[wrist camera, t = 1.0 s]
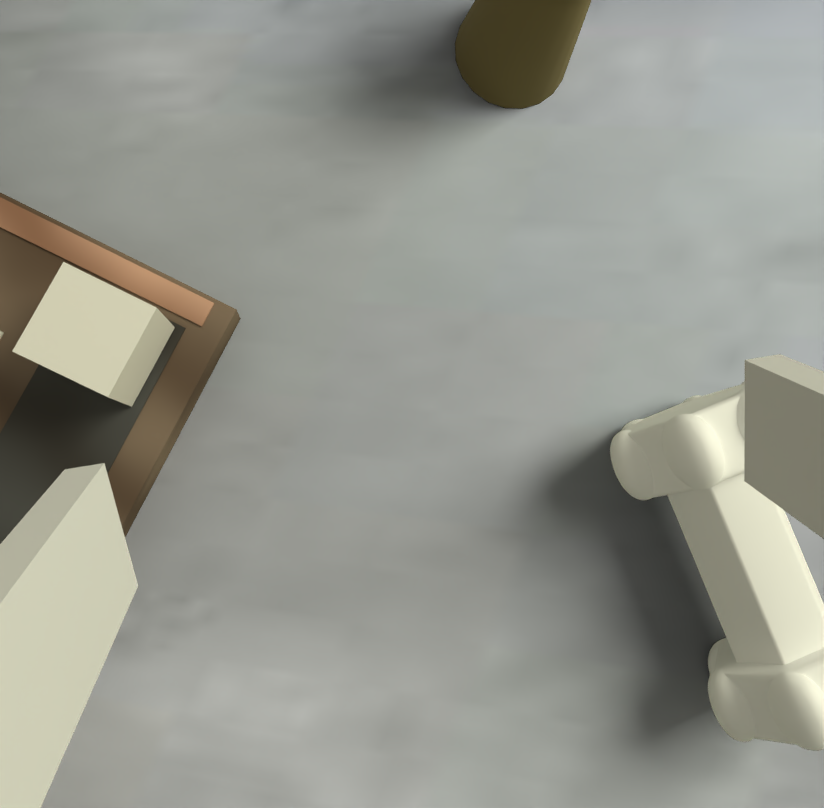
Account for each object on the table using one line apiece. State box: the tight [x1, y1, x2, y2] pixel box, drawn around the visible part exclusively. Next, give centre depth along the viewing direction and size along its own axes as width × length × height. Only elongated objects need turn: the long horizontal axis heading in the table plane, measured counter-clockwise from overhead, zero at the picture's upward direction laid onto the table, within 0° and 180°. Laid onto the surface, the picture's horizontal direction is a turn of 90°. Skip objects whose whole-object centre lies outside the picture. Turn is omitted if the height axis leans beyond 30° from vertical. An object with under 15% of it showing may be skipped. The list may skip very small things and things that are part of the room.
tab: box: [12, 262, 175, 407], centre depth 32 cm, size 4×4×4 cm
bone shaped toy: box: [610, 381, 824, 751], centre depth 35 cm, size 15×9×8 cm, turn 22°
